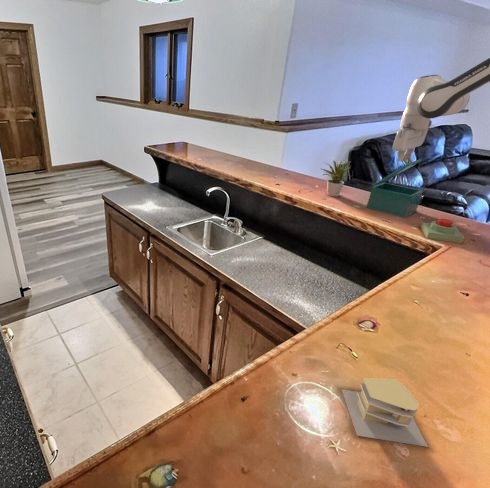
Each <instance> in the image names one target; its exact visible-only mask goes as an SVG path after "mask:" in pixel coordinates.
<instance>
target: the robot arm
mask: <svg viewBox="0 0 490 488" xmlns="http://www.w3.org/2000/svg"><path fill="white" fill-rule="evenodd" d="M488 83H490V57H488V58H487V59H485V60H483V61H481V62H480V63H478V64H476V65H475V66H473V67H471V68H470V69H468V70H466V71H465V72H463V73H461V74H460V75H458V76H456V77H455V78H453V79H451V80H449V81H447V80H445V78H443V77H442V76H441V75H439V74H429V75H423V76H420V77H417V78H416V79H414V81H413V82H412V83H411V86H410V88H409V91H408V93H407V97H406V102H405V109H404V111H403V113H402V115H401V118H400V119H401V120H400V123H399V128H400V129H398V131H397V132H396V135H395V138H394V140H393V144H392V151H395V152H397V159H396V160H397V162H401V163H402V162H404V158H405V157H404V155H407V154H408V155H410V157H409V158H410V159H411V158H412V155H413V153H414V151H415V149H416V148H417V147H420V146H422V145H423V144H424V142H425V140H426V136H427V134H428V132H429V128H430V127H432V123H433V121H432V119H436V118H439V117H447V116H452V115H455V114H459V113H460V112H462V111H463V110H464V109H465V108H466V107H467V106H468V104H469V101H470V93H472V92H474V91H476V90H478V89H480V88H481V87H483V86H485V85H487V84H488Z"/></svg>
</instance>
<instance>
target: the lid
mask: <svg viewBox="0 0 490 488" xmlns="http://www.w3.org/2000/svg"><path fill="white" fill-rule="evenodd" d="M404 157H405V158H404V161H403V162H404V164H405V165H403V166H402V167H400V168H398V169H397V170H395V171H393V172H392V173H390V174H388V175H386V176H385V177H383V178H382V179H380V180H378V181H376V182H375V183H373V184H371V186H372V187H374V186H377V185H379V184H382V183H387V182H388V181H390V180H392V179H393V178H395V177H397V176H398V175H400V174H402V173H404V172H405V171H407V170H408V169H411V168H412V167H415V165H417V164H419V163H420V162H422V161H423V160H422V158H419V159H417V160H414V161H413V160H412V159H411V158H409V157H410V155H408V154H407V155H404Z"/></svg>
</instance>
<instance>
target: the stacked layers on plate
mask: <svg viewBox="0 0 490 488" xmlns="http://www.w3.org/2000/svg"><path fill="white" fill-rule="evenodd" d="M362 380H363V383H360V388H361V391H355V390H348V389H341V392H342V396H343V398H344V401H345V404H346V407H347V410H348V413H349V416H350V419H351V422H352V425H353V428H354V431H355V434H356V436H358V437H364V438H369V439H375V440H376V439H377V440H381V441H389V442H395V443H401V444H406V445H407V444H408V445H414V446H421V447H425V448H428V447H429V446H428V443H427V442H426V440H425V438H424V437H423V434H422V432H421V431H420V428H419V427H418V425H417V422H416V420H415V419H414V416H415V414H416V413H417V411H418V408H419V406H420V402H419V401H418V399H416V397H415V396H414V395H413V393H411V392H410V390H409V389H408V388H407V387H406V386H405V384H403V383H402V382H401V381H399V380H397V379H394V378H386V377H384V378H381V377H362Z"/></svg>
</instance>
